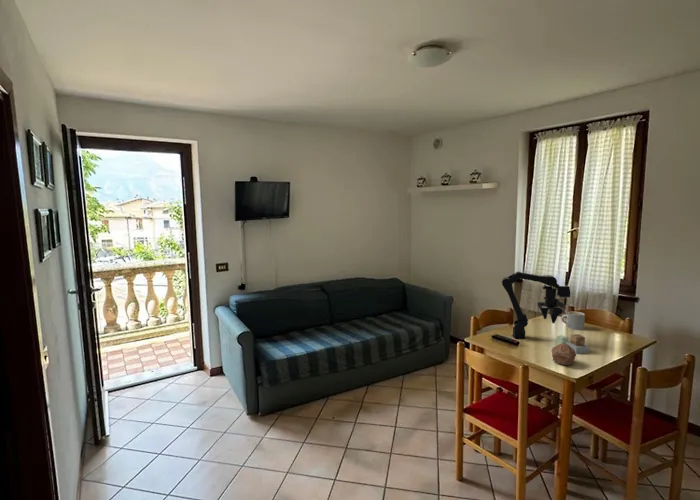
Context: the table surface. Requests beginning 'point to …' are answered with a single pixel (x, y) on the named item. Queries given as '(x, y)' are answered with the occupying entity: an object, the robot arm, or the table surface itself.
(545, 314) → the robot arm
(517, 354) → the table surface
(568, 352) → the decorative rock
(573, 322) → the coffee mug
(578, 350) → the base block
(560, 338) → the sage block
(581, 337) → the walnut cube
